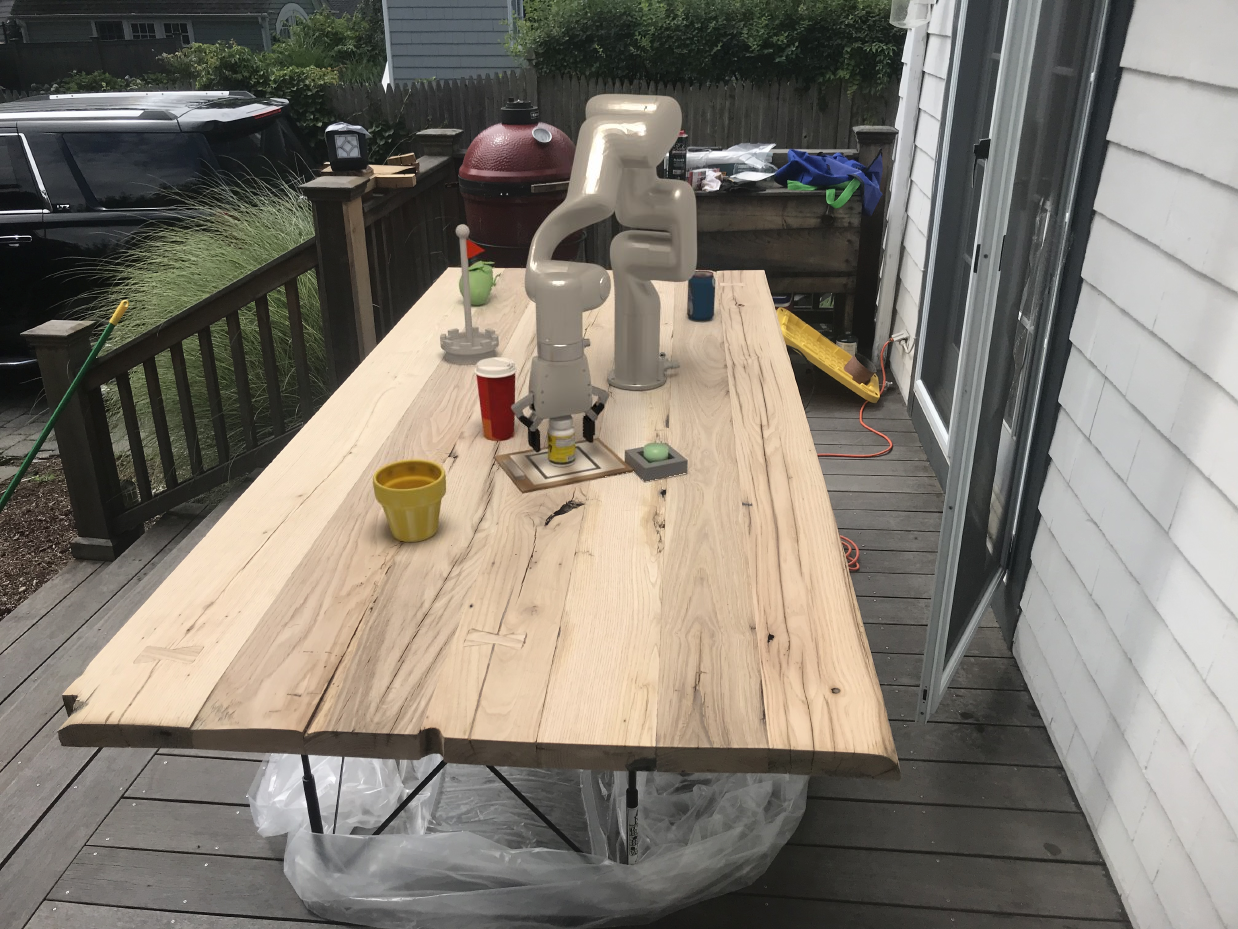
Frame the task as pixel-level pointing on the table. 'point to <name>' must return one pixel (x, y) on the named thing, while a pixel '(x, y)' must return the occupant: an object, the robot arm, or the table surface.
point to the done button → (655, 452)
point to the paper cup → (496, 397)
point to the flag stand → (468, 318)
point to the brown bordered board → (539, 474)
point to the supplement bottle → (561, 441)
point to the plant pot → (411, 497)
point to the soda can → (701, 296)
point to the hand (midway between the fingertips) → (562, 444)
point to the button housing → (656, 464)
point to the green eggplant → (480, 282)
